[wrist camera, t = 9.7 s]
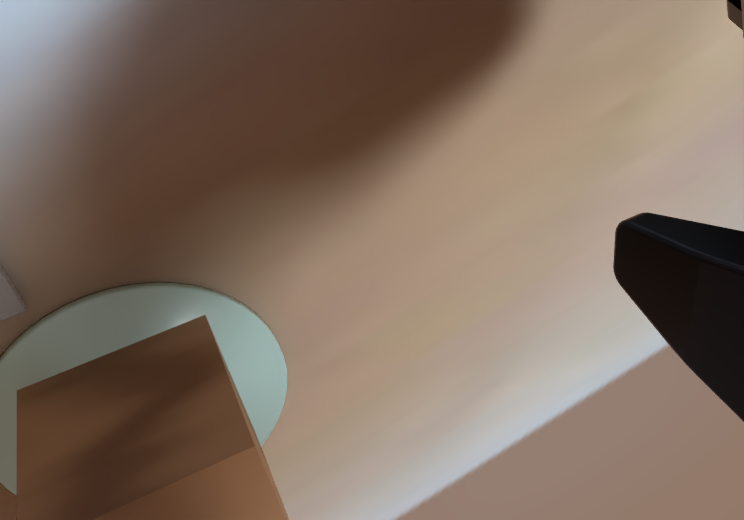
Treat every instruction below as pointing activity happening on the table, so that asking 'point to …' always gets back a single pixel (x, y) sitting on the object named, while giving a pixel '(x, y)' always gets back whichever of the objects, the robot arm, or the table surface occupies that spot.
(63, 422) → the walnut block
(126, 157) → the table surface
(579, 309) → the table surface
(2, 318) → the tile
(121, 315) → the pale green disc
